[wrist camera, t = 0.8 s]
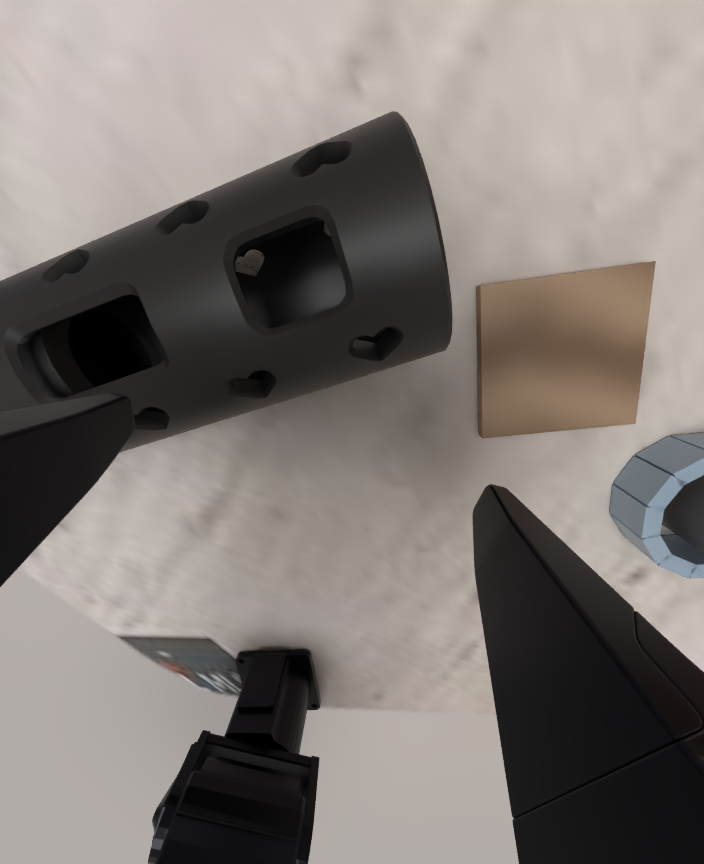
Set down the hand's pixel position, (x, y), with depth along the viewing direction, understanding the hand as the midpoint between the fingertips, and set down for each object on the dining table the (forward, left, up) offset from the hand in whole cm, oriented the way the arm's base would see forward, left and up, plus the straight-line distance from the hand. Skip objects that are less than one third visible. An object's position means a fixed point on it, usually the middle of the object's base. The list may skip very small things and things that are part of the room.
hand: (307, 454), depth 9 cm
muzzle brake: (+3, +10, -14) cm, 18 cm away
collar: (-10, -21, -14) cm, 27 cm away
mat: (0, -12, -14) cm, 19 cm away
